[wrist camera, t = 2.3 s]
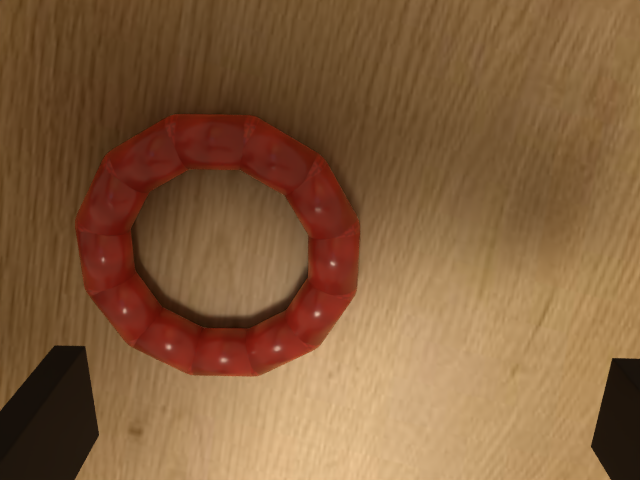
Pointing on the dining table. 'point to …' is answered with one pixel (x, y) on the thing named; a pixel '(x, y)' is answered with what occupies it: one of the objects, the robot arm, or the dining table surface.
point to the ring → (217, 154)
